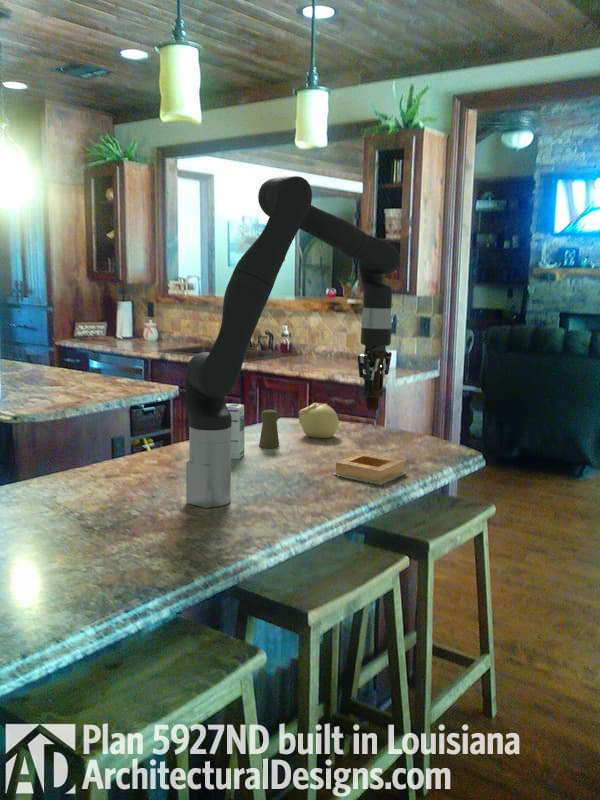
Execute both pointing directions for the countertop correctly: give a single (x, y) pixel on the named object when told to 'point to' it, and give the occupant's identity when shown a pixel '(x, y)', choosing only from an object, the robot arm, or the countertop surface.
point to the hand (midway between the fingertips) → (373, 393)
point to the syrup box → (237, 430)
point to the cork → (269, 430)
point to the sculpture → (318, 420)
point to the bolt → (375, 385)
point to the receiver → (370, 468)
